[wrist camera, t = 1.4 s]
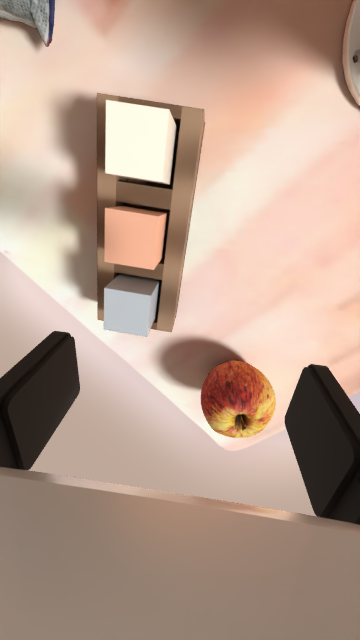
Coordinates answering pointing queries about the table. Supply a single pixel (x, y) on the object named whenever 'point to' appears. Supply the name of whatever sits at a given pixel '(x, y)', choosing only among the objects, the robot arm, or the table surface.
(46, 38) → the packaged food
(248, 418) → the apple
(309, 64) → the table surface
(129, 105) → the key cream
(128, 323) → the grey block
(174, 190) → the frame block
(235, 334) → the table surface
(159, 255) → the key terracotta
